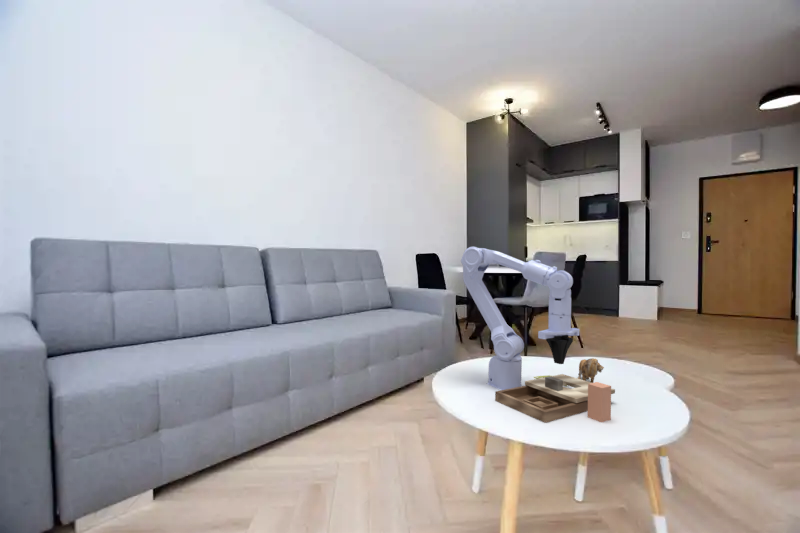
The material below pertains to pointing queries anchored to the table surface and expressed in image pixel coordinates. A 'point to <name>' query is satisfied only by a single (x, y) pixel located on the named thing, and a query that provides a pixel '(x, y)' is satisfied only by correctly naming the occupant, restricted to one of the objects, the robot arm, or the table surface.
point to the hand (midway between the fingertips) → (558, 363)
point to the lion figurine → (589, 369)
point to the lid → (556, 387)
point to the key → (542, 377)
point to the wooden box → (539, 403)
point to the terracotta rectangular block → (599, 401)
